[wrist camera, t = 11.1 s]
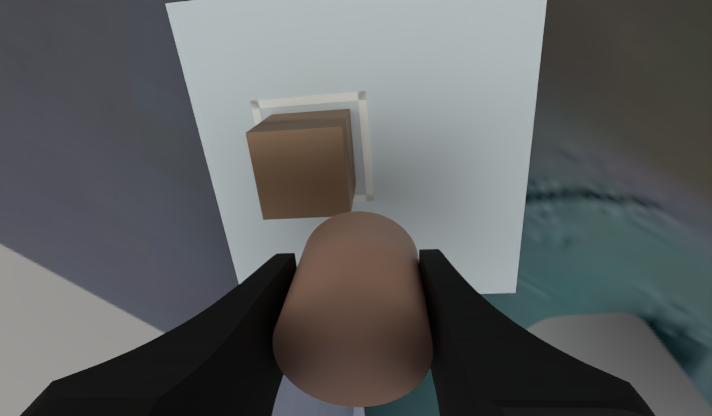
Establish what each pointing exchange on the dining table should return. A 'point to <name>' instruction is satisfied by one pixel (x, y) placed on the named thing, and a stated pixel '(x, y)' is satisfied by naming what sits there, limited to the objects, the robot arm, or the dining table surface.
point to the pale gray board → (376, 115)
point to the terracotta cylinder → (355, 314)
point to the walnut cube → (303, 164)
